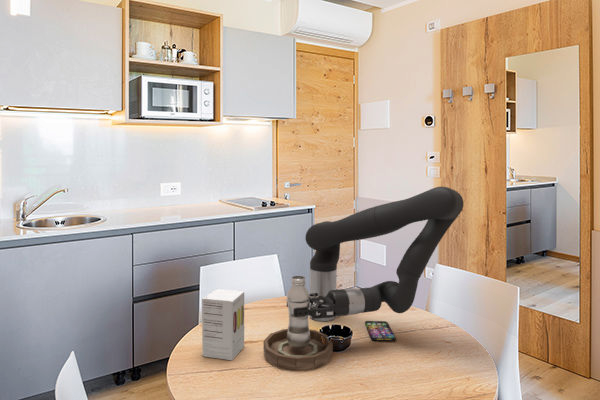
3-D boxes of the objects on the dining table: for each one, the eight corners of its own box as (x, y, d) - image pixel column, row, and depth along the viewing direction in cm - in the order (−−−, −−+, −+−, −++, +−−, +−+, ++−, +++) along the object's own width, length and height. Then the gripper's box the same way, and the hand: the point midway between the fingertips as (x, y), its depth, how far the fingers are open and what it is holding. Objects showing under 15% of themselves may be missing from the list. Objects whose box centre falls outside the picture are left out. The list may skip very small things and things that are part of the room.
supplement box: (232, 361, 117) (232, 301, 116) (201, 357, 120) (200, 298, 118) (245, 346, 127) (245, 290, 125) (216, 342, 129) (215, 287, 127)
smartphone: (387, 321, 145) (397, 340, 130) (387, 323, 145) (397, 343, 130) (364, 320, 145) (371, 340, 130) (364, 323, 145) (371, 343, 130)
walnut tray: (300, 333, 135) (300, 323, 135) (345, 355, 122) (345, 343, 121) (250, 352, 123) (250, 340, 122) (294, 378, 109) (295, 365, 108)
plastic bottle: (308, 352, 118) (308, 281, 116) (284, 350, 119) (284, 280, 117) (312, 342, 124) (312, 275, 122) (289, 340, 126) (289, 273, 123)
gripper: (336, 282, 131) (283, 287, 126) (356, 297, 118) (297, 304, 113) (336, 306, 132) (283, 311, 127) (355, 324, 118) (297, 331, 113)
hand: (290, 308), depth 120 cm, fingers open, 6 cm apart
